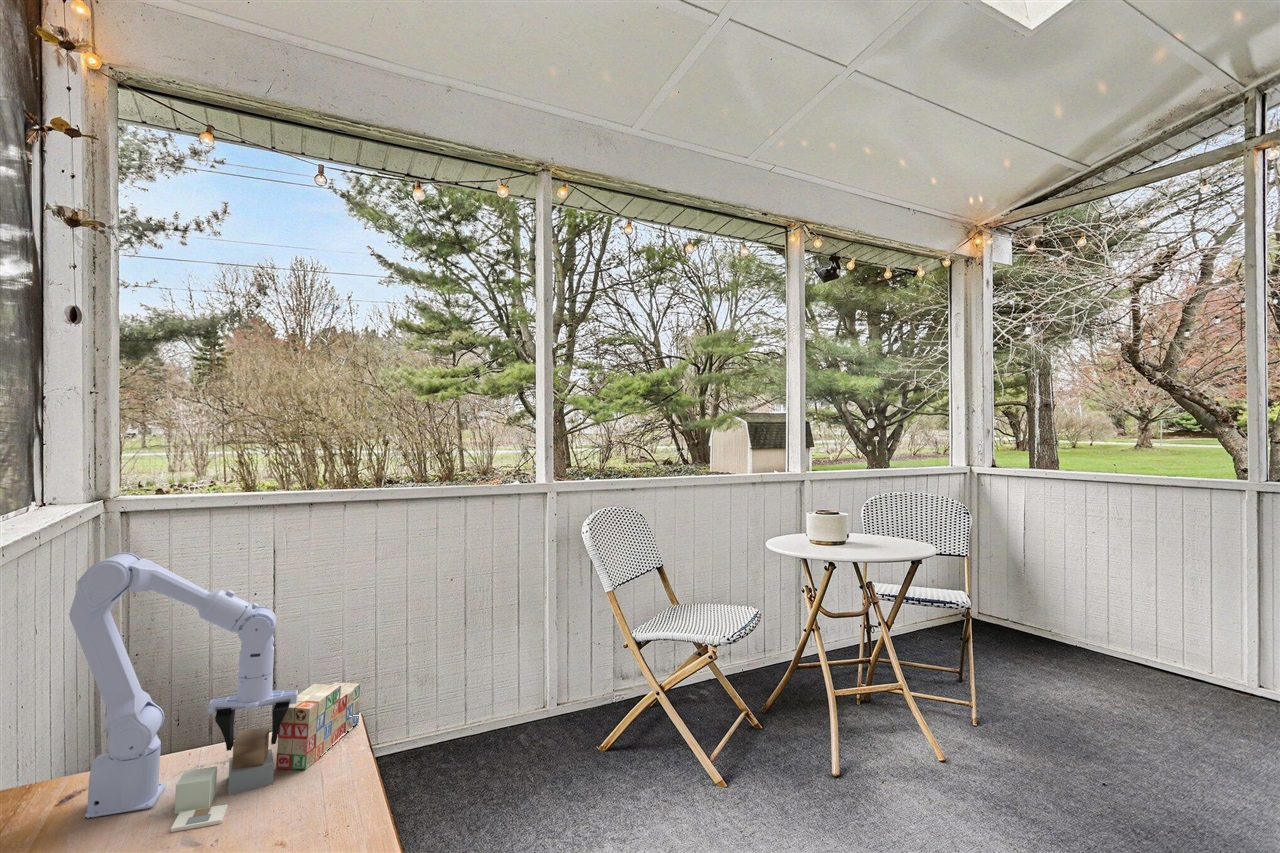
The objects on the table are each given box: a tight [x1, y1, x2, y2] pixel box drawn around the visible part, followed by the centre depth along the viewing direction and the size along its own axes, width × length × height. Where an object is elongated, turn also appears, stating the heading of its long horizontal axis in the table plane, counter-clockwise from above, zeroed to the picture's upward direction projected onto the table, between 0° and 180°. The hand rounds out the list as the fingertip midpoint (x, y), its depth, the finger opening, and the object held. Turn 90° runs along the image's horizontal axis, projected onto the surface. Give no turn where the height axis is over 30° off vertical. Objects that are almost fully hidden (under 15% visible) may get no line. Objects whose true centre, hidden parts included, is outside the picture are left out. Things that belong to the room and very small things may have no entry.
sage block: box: [174, 765, 218, 815], centre depth 111 cm, size 5×5×5 cm
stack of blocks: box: [275, 681, 361, 771], centre depth 134 cm, size 21×6×12 cm, turn 178°
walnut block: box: [232, 726, 270, 770], centre depth 119 cm, size 5×5×5 cm
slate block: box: [228, 748, 275, 795], centre depth 119 cm, size 7×7×4 cm
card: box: [170, 803, 228, 833], centre depth 106 cm, size 7×5×1 cm
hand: (252, 745), depth 119 cm, fingers open, 7 cm apart
